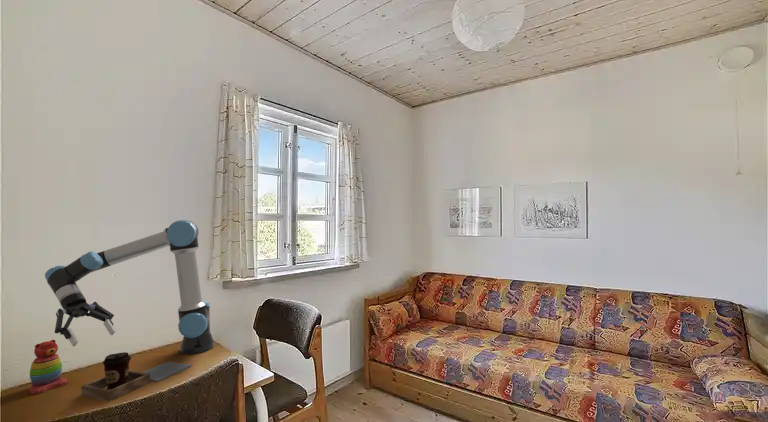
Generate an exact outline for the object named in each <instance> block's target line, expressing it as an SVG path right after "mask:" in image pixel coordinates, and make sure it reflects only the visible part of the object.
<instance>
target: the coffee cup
mask: <svg viewBox="0 0 768 422" xmlns="http://www.w3.org/2000/svg"><path fill="white" fill-rule="evenodd" d="M104 357H105V358H104V360H103V361H102V364H103V367H104V377H106V383H107V385H108V386H107V388H106V389H109V390H111V389H114V388H116V387H118V386H120V385H123V384H125V383H127V382H128V380H127V378H128V371H129V370H130V362H131V358H132V356H131V355H129V353H128V352H126V351H123V352H118V353H111V354H108V355H107V356H104Z"/></svg>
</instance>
